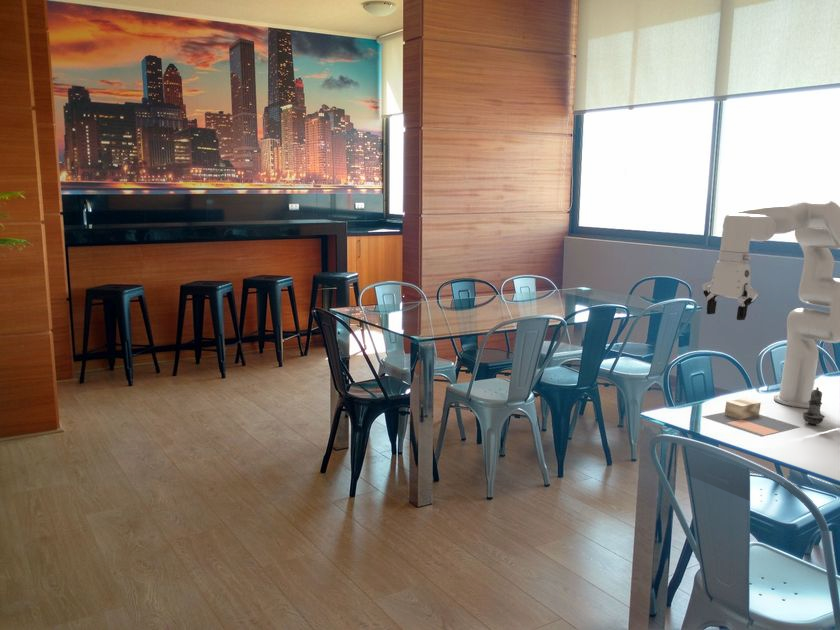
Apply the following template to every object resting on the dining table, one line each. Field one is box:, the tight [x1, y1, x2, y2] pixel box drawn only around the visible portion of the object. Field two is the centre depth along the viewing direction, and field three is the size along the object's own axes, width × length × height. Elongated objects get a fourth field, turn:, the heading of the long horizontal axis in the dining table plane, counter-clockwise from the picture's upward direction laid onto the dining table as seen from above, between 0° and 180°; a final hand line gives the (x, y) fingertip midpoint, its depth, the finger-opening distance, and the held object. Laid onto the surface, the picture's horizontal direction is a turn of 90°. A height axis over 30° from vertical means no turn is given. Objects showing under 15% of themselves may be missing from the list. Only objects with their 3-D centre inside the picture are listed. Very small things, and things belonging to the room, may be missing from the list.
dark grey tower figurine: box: [802, 386, 825, 427], centre depth 213 cm, size 6×6×12 cm
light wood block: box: [724, 397, 762, 419], centre depth 220 cm, size 10×5×4 cm, turn 124°
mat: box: [702, 411, 801, 437], centre depth 213 cm, size 20×19×1 cm
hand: (725, 316), depth 210 cm, fingers open, 9 cm apart
